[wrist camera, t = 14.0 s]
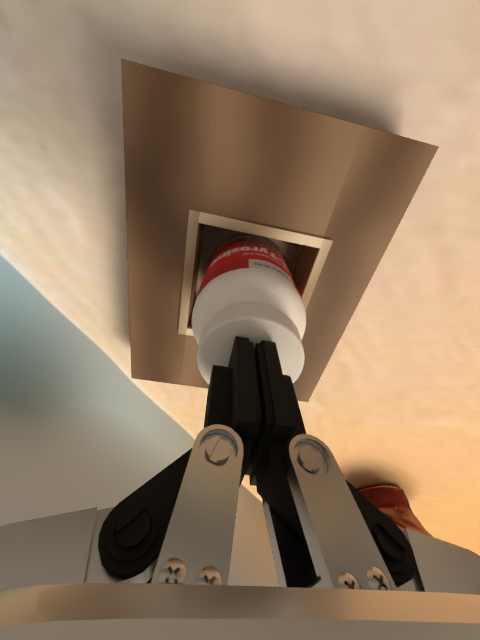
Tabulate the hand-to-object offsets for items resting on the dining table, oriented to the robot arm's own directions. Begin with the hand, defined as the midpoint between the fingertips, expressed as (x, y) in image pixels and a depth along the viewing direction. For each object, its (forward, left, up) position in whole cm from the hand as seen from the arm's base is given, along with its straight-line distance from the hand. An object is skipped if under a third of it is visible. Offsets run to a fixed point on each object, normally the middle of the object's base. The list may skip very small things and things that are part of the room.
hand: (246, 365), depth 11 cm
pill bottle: (0, 0, -11) cm, 11 cm away
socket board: (0, 0, -11) cm, 11 cm away
